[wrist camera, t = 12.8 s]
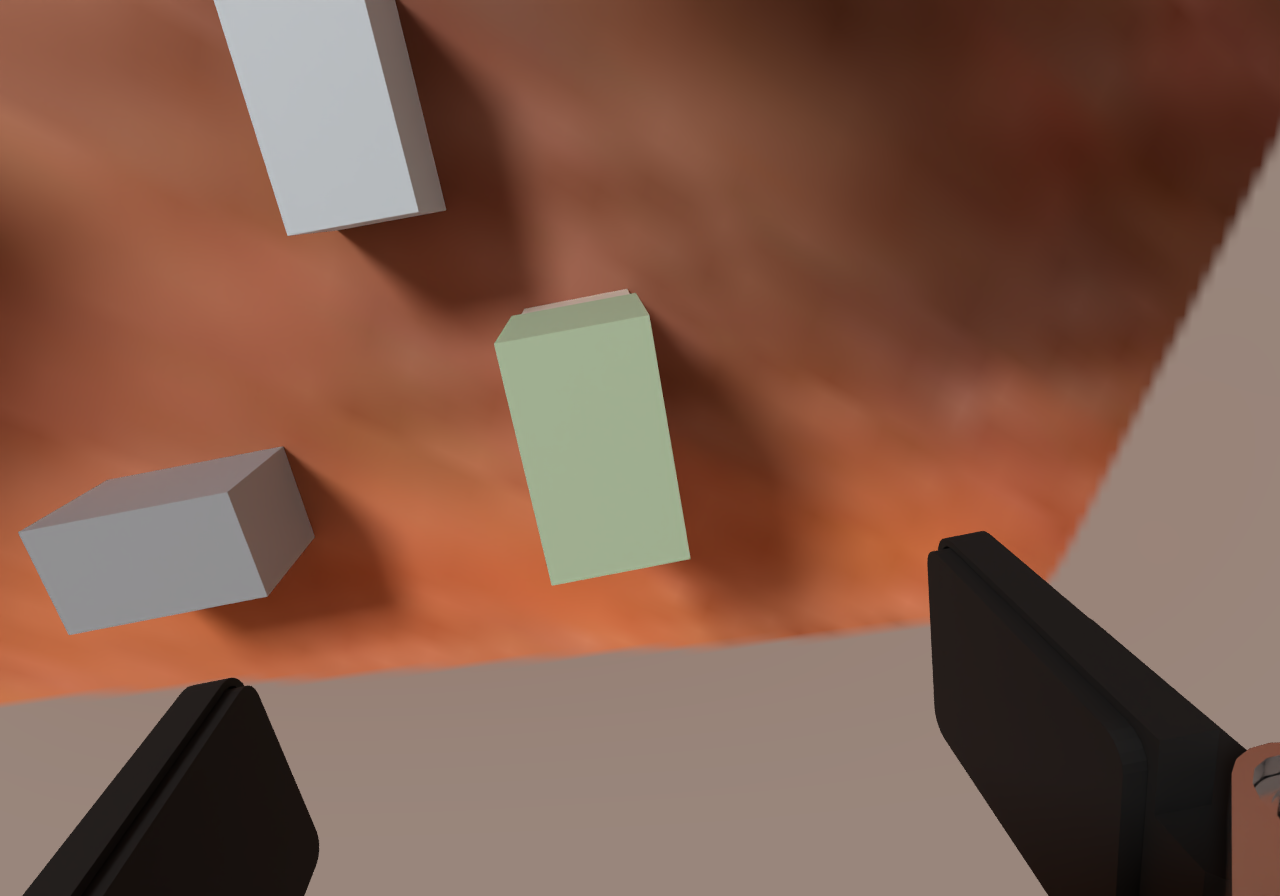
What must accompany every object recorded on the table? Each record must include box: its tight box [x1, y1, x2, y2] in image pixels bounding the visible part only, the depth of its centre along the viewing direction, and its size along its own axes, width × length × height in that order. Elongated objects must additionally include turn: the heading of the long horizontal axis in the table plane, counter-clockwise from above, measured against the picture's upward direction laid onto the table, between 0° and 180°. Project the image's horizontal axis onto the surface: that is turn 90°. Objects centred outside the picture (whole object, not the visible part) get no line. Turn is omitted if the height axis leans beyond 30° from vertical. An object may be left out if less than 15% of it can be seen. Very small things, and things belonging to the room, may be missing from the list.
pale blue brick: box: [214, 0, 446, 236], centre depth 24 cm, size 7×4×5 cm, turn 10°
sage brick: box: [494, 293, 690, 585], centre depth 22 cm, size 7×4×5 cm, turn 10°
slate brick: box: [18, 446, 315, 635], centre depth 28 cm, size 7×4×5 cm, turn 100°
